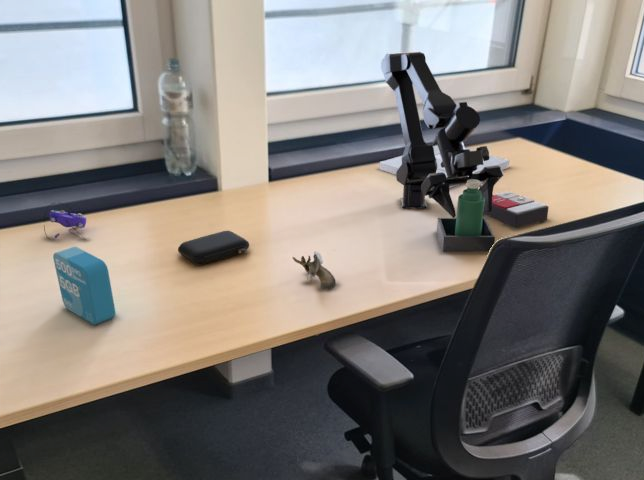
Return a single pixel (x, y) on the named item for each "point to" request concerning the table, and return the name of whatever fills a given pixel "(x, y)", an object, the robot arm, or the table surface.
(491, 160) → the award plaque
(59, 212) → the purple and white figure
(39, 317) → the table surface
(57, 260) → the data package
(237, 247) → the carrying case
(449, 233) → the tray
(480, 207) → the bottle
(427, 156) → the robot arm
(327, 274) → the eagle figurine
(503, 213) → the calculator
